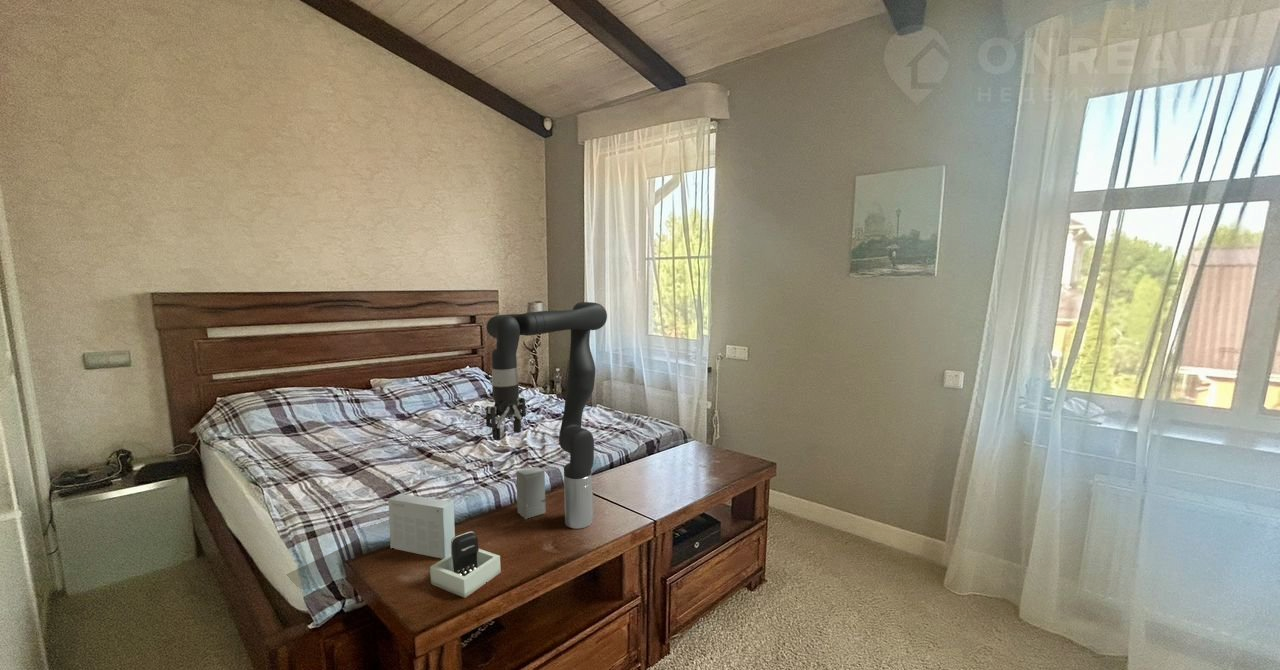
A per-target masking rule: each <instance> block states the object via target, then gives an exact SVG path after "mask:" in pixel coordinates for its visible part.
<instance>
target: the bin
mask: <svg viewBox="0 0 1280 670" xmlns="http://www.w3.org/2000/svg"><path fill="white" fill-rule="evenodd" d="M477 564H478V568H476V569H475V570H473V571H472V572H470V573H469V574H467V575H466V576H462V575H459V574H457V573H454V572H453V568H452V558H451V555H449V556H447V557H446V558H444V559H441V560H439V561H437V562H436V563H434V564H432V565H431V566H430V567H429V568H430V569H429V572H430V583H431V585H433V586H435V587H437V588H440V589H442V590H445V591H446V592H449V593H452V594H454V595H457V596H459V597H462V598H463V599H465V598H467V597H468V596H471V594H473V593H474V592H475V591H477V590H478V589H480V588H481V587H482V586H484V585H486V582H487V583H488V582H490V581H491V580H493V579H494V578H495V577H496V576H498V575H499V574H500V573H502V572H501V571H502V570H501V555H499V554H496V553H493V552H489V551H487V550H484V549H481V548H479V551H478V552H477Z"/></svg>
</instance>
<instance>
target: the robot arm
mask: <svg viewBox="0 0 1280 670" xmlns="http://www.w3.org/2000/svg"><path fill="white" fill-rule="evenodd" d="M607 321H608V314H607V310H606V308H605V307H604V306H603V305H602V304H600V303H597V302H589V301H580V302H579V301H578V302H577V303H576V304H575V305H573V307H572V309H565V310H541V311H530V312H525V313H514V314H513V313H512V314H511V313H509V314H498V315H494V316H492V317H491V318H489V319H488V321H487V323H486V331H487V333H488V335H489V336H490V337H491V338H494V339H497V343H496V348H494V349H493V350H492V352H491V353H492V354H491V367H492V370H491V385H492V386H491V389H492V399H493V401H494V405H493V406H489V405H488V406H486V408H485V426H486V427H487V428H490V429H491V434H492V436H491V437H492V439H493V441H496V442H498V441H500V440H501V439H502V438H501V425H502V423H503V422H504V421H505V419H506V418H509V417H512V418H513V419H512V420H513V421H512V422H513V424H512V425H513V432H514V433H517V434H519V433H521V431H522V419H523V418H525V417H527V410H526V399H525V397H520V396H519V395H520V393H519V392H520V390H519V388H520V387H519V372H518V362H517V361H518V358H517V351H518V348H519V343H520V336H527V337H529V336H530V337H531V336H536V335H544V334H549V333H555V332H561V331H568V330H569V331H570V347H569V348H570V349H569V361H568V369H567V379H566V392H565V398H564V399H565V402H564V408H563V409H564V410H563V415H562V420H561V425H560V428H559V434H558V435H559V436H558V445H559V447H560V448H561V449H562V451H564V452H567V453H568V454H570V455H569V462H568V463H566V464H565V465H564V467H563V484H564V485H563V487H564V491H563V493H564V494H563V495H564V525H565V526H566V527H568V528H571V529H576V530H577V529H584V528H588V527H589V526H591V525H592V524H593V519H595V517H594V492H593V490H592V489H593V488H592V487H593V486H592V485H593V484H592V470H593V469H592V468H593V466H594V459H595V458H594V457H595V439H594V436H593V433H592V432H591V431H590V430H588V429H586V428H584V427H582V421H583V412H584V409H585V406H586V405H587V403H588V401H589V400H590V398H591V396H592V394H593V392H594V389H595V380H596V364H595V361H594V357H593V354H592V351H591V348H590V338H591V331H596V330H599V329H601V328H603V327H604V326H605V324H606V323H607Z"/></svg>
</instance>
